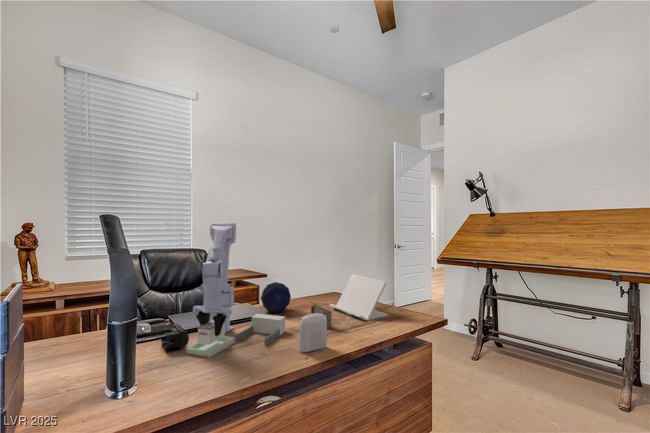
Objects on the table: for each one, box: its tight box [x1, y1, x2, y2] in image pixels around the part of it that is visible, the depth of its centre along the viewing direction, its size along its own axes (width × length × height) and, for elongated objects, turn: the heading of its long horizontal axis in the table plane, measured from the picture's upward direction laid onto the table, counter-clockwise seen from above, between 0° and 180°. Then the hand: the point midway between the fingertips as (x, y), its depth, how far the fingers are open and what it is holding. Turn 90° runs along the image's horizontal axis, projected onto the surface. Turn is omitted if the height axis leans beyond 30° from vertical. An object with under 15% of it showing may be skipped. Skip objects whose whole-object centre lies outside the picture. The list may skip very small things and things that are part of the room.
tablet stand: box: [329, 273, 389, 321], centre depth 163 cm, size 18×25×17 cm
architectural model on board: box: [310, 301, 332, 330], centre depth 142 cm, size 11×3×10 cm, turn 38°
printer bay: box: [235, 313, 286, 347], centre depth 128 cm, size 13×16×6 cm
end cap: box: [160, 323, 190, 354], centre depth 116 cm, size 10×7×7 cm
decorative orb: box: [260, 281, 292, 314], centre depth 163 cm, size 14×15×15 cm
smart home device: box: [137, 323, 174, 337], centre depth 132 cm, size 8×2×20 cm
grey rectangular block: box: [197, 320, 226, 345], centre depth 115 cm, size 5×10×6 cm, turn 163°
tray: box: [185, 335, 235, 359], centre depth 115 cm, size 10×14×2 cm
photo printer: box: [298, 313, 328, 353], centre depth 116 cm, size 10×4×12 cm, turn 123°
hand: (211, 334), depth 115 cm, fingers closed on grey rectangular block, 4 cm apart
